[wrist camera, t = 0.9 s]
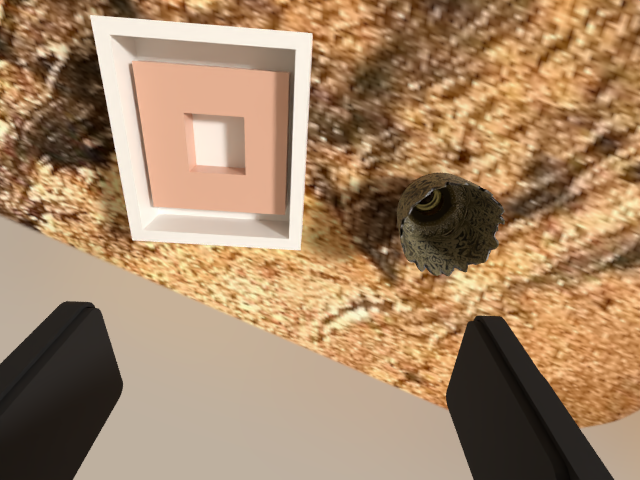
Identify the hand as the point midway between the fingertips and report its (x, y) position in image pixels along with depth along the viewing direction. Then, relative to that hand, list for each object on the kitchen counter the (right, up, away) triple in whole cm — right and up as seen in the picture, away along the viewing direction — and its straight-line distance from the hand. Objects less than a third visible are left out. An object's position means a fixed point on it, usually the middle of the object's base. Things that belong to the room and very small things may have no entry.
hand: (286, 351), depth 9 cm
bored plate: (-7, +12, +21) cm, 25 cm away
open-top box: (-7, +12, +21) cm, 25 cm away
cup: (+10, +7, +24) cm, 27 cm away
